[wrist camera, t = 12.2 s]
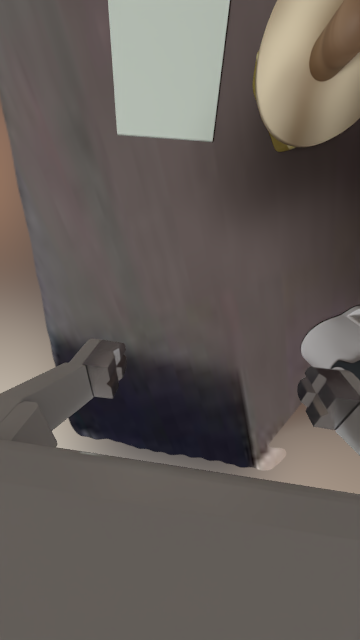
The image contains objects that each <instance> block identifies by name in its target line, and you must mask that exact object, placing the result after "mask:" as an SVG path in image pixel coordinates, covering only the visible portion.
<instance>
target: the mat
mask: <svg viewBox="0 0 360 640" xmlns="http://www.w3.org/2000/svg"><path fill="white" fill-rule="evenodd" d="M229 4H230V0H108V7H109V21H110V35H111V50H112V64H113V78H114V93H115V107H116V121H117V134H118V135H124V136H138V137H151V138H165V139H178V140H192V141H205V142H212V141H213V133H214V125H215V117H216V109H217V101H218V93H219V85H220V77H221V68H222V60H223V52H224V44H225V36H226V28H227V20H228V12H229Z"/></svg>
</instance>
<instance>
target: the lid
mask: <svg viewBox="0 0 360 640" xmlns="http://www.w3.org/2000/svg"><path fill="white" fill-rule="evenodd" d="M255 91H256V100H257V106H258V110H259V113H260V116H261V119H262V121H263V123H264V125H265V127H266V128H267V130H268V131H269V132H270V134H271V135H272V136H273V137H274V138H276V139H277V140H278V141H280V142H282V143H283V144H286V145H289V146H292V147H309V146H314V145H317V144H320V143H323V142H325V141H327V140H329V139H331V138H333V137H335V136H337V135H338V134H340V133H342V132H343V131H345V130H346V129H347V128H349V127H350V126H351V125H353V124H354V123H355V122H356V121H357V120H358V119H359V118H360V0H277V2H276V4H275V7H274V9H273V11H272V14H271V16H270V19H269V21H268V24H267V27H266V30H265V32H264V36H263V39H262V42H261V45H260V50H259V54H258V59H257V66H256V77H255Z"/></svg>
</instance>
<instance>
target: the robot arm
mask: <svg viewBox="0 0 360 640" xmlns="http://www.w3.org/2000/svg"><path fill="white" fill-rule="evenodd" d="M125 350H126V349H125V344H124V343H120V342H113V341H107V340H98V339H89V340H88V341H87V342H86V343H85V345H84V346H83V347H82V348H81V349H80V351H79V352H78V353H77V354H76V355H75V356H74V358H73V359H72V360H71V361H70V362H69V363H64V364H62V365H59V366H57V367H55V368H53V369H51V370H49V371H47V372H45V373H43V374H41V375H39V376H36V377H34V378H32V379H30V380H28V381H26V382H24V383H22V384H20V385H17V386H15V387H14V388H11V389H9V390H7V391H5V392H3V393H1V394H0V640H360V494H354V493H347V492H341V491H335V490H328V489H321V488H315V487H309V486H302V485H296V484H290V483H283V482H277V481H269V480H264V479H257V478H250V477H244V476H238V475H231V474H225V473H219V472H212V471H206V470H199V469H192V468H186V467H179V466H173V465H167V464H160V463H154V462H147V461H141V460H134V459H128V458H121V457H115V456H108V455H102V454H95V453H89V452H82V451H76V450H69V449H63V448H56V446H57V441H56V439H55V437H54V435H53V433H52V430H53V429H55V428H56V427H57V426H58V425H60V424H61V423H62V422H63V421H65V420H66V419H67V418H68V417H70V416H71V415H72V414H73V413H75V412H76V411H77V410H78V409H80V408H81V407H82V406H83V405H85V404H86V403H87V402H88V401H90V400H91V399H92V398H93V396H95V397H104V398H113V397H114V395H115V393H116V391H117V389H118V387H119V383H118V380H120V379H121V378H123V376H124V373H125V370H126V365H127V359H126V356H125V355H124V352H125ZM301 352H302V355H303V357H304V359H305V360H306V361H308V362H309V363H310V364H311V365H312V367H309V368H308V369H307V370H306V372H305V375H306V377H305V378H303V379H301V380H300V382H299V384H298V390H297V392H298V396H299V398H300V401H301V402H302V403H303V404H304V405H306V406H307V409H306V413H307V415H308V417H309V419H310V420H311V423H312V424H313V426H314V427H320V428H325V429H331V430H336V432H337V433H338V434H339V435H340V436H341V437H342V438H343V439H344V440H345V441H346V442H347V443H348V444H349V445H350V446H351V447H352V448H353V449H354V450H355V451H356V452H357V453H358V454H359V455H360V306H355V307H353V308H351V309H350V310H348V311H347V312H345V313H344V314H342V315H340V316H337V317H334V318H331V319H329V320H326V321H324V322H322V323H320V324H319V325H317V326H316V327H314V328H313V329H312V330H311V331H310V332H309V333H308V334H307V335H306V337H305V338H304V340H303V342H302V346H301Z"/></svg>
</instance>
